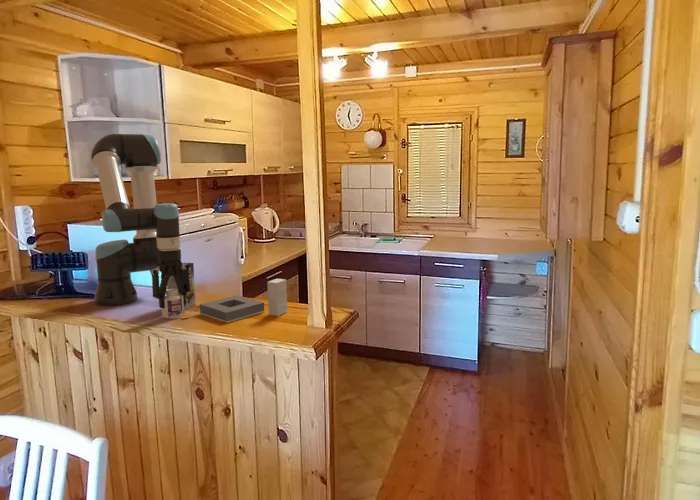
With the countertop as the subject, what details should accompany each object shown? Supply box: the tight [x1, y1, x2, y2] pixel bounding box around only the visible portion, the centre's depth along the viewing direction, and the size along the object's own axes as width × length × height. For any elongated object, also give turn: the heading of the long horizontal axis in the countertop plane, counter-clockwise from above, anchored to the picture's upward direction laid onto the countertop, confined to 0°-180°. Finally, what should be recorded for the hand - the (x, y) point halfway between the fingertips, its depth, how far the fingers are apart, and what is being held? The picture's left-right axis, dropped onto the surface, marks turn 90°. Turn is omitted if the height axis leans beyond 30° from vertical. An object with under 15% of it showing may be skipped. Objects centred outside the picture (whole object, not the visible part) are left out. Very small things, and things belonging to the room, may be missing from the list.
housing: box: [199, 294, 265, 323], centre depth 176 cm, size 16×16×4 cm
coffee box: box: [166, 262, 197, 311], centre depth 183 cm, size 9×6×16 cm
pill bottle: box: [165, 289, 182, 320], centre depth 171 cm, size 5×5×10 cm
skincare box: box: [267, 278, 288, 317], centre depth 174 cm, size 6×4×12 cm
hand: (173, 314), depth 171 cm, fingers closed on pill bottle, 5 cm apart
